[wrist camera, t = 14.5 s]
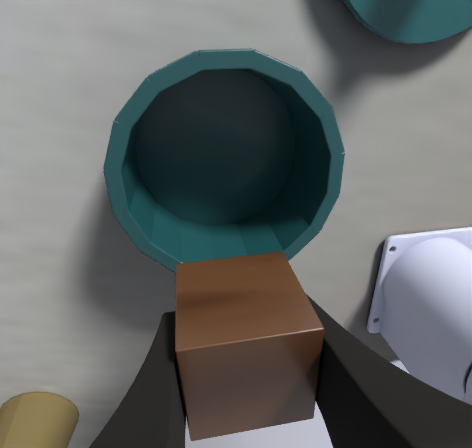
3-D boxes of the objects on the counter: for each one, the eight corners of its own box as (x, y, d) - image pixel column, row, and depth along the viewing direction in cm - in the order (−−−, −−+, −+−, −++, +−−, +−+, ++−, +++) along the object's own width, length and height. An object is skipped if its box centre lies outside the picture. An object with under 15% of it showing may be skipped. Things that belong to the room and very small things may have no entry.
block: (280, 328, 15) (313, 419, 12) (187, 342, 15) (190, 442, 11) (282, 250, 13) (324, 328, 10) (175, 263, 13) (175, 351, 9)
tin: (298, 223, 22) (330, 267, 18) (141, 239, 21) (130, 292, 16) (310, 48, 18) (359, 45, 13) (106, 55, 16) (76, 53, 11)
